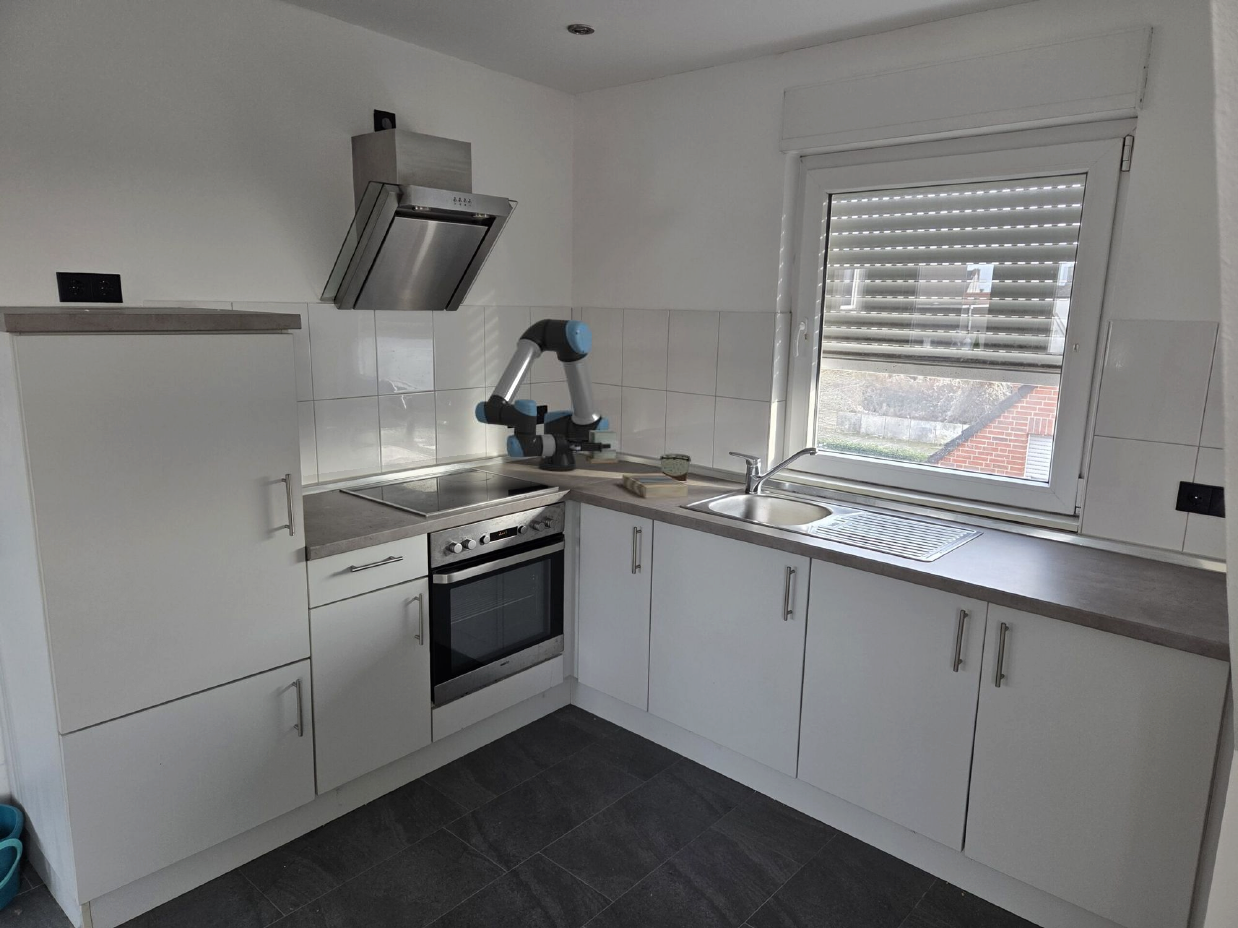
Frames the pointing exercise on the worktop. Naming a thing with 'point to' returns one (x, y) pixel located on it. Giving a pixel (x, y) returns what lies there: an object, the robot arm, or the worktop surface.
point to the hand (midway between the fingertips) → (614, 443)
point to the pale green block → (605, 455)
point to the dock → (654, 485)
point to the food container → (675, 466)
